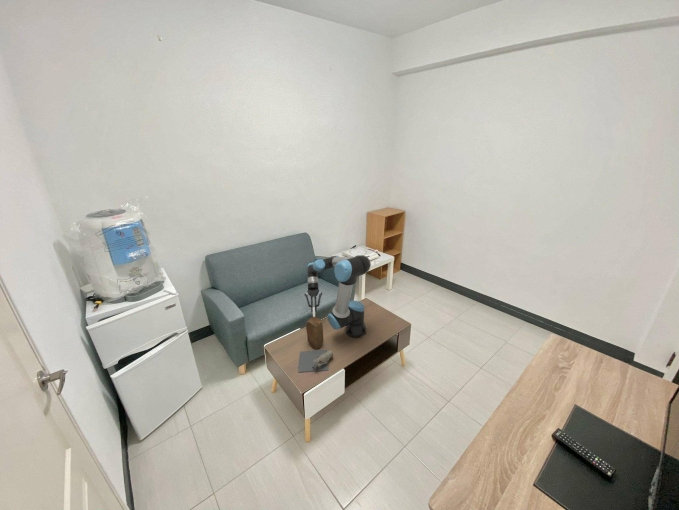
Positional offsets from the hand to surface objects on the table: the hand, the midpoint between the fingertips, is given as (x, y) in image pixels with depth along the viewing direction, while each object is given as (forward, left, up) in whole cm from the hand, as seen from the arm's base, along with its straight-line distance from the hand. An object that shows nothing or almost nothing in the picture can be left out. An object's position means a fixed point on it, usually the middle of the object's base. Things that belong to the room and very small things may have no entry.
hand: (314, 316), depth 187 cm
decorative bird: (-5, +28, -15) cm, 32 cm away
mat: (+1, +25, -15) cm, 29 cm away
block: (0, +10, -15) cm, 18 cm away
